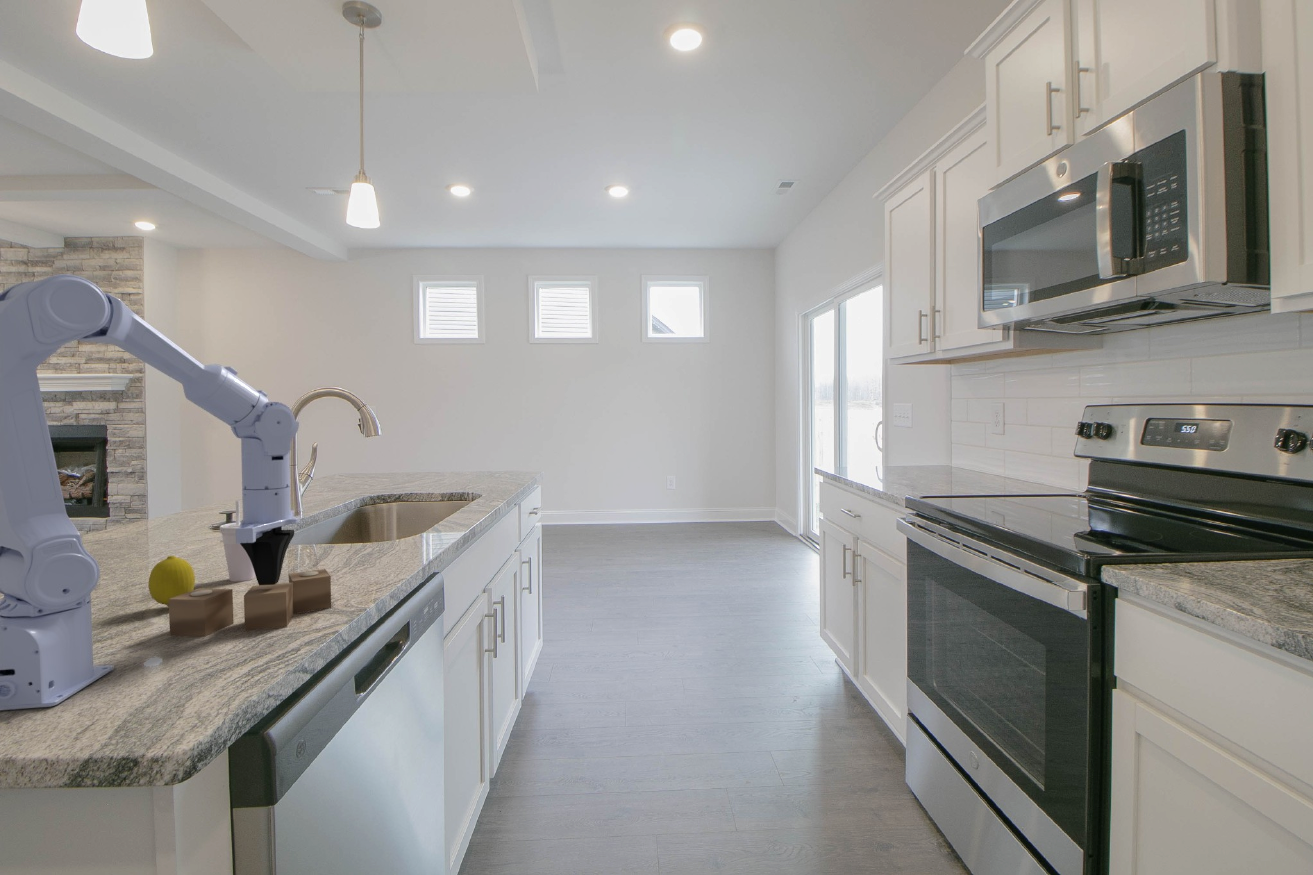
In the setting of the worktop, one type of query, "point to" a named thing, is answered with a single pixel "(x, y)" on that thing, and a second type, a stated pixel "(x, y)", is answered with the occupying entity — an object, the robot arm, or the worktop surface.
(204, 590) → the dotted block
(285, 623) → the plain block
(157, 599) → the lemon
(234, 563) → the smoothie
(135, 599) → the worktop surface
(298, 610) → the dotted block
